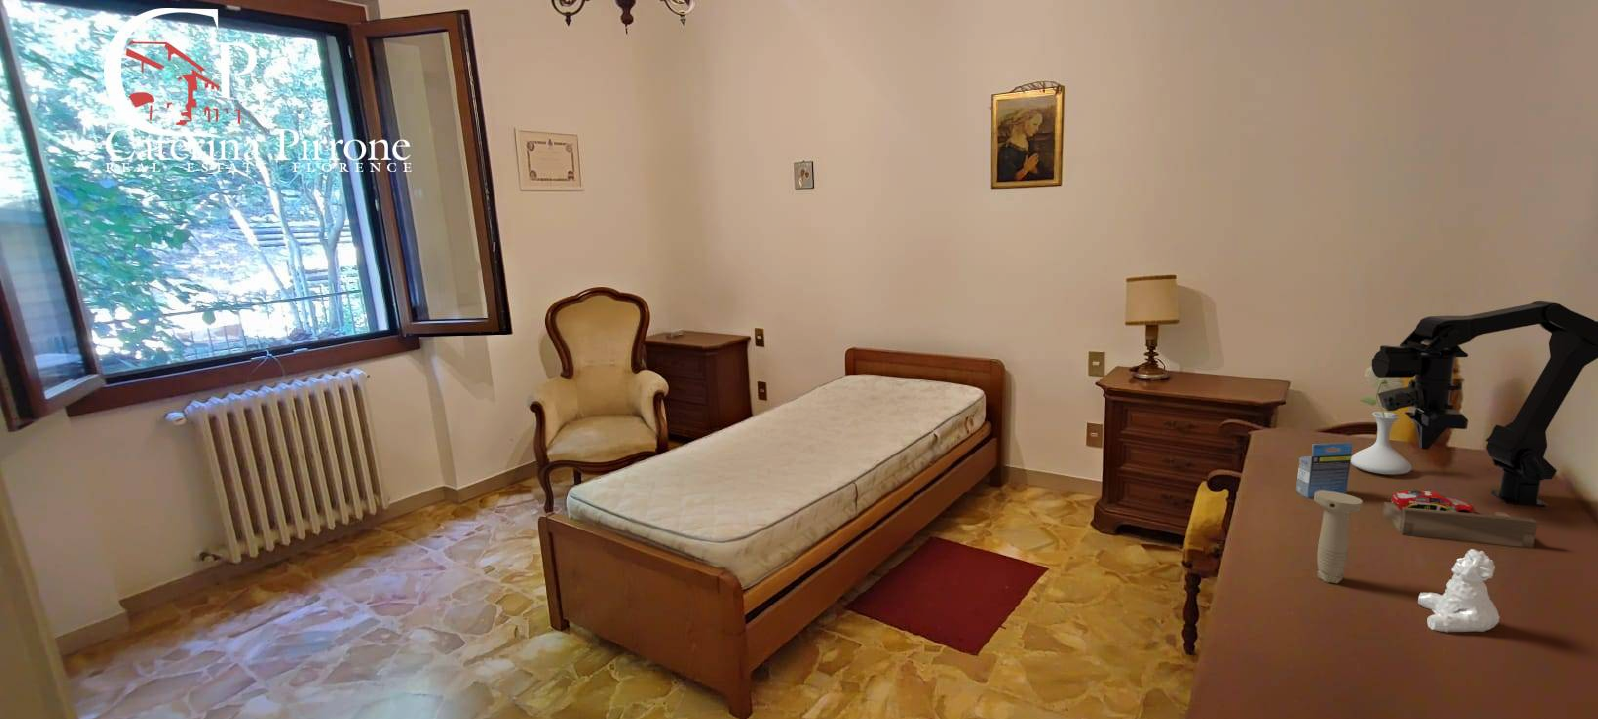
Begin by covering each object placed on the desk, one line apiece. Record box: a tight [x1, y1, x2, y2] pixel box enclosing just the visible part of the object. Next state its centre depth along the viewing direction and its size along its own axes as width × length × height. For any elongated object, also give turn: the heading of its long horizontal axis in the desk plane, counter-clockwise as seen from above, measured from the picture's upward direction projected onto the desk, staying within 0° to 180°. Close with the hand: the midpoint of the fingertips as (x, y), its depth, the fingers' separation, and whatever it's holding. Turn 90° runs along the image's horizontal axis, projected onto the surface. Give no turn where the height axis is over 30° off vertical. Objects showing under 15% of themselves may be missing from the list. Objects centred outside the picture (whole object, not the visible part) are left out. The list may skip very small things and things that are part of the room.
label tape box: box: [1295, 442, 1353, 499], centre depth 155 cm, size 9×4×12 cm, turn 92°
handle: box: [1313, 490, 1363, 584], centre depth 119 cm, size 5×6×15 cm
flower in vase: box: [1350, 366, 1412, 476], centre depth 166 cm, size 13×11×25 cm
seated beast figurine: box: [1417, 548, 1501, 634], centre depth 106 cm, size 10×9×12 cm
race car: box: [1389, 489, 1476, 514], centre depth 145 cm, size 13×5×4 cm, turn 65°
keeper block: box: [1382, 501, 1538, 549], centre depth 136 cm, size 10×19×5 cm, turn 67°
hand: (1424, 449), depth 150 cm, fingers closed
